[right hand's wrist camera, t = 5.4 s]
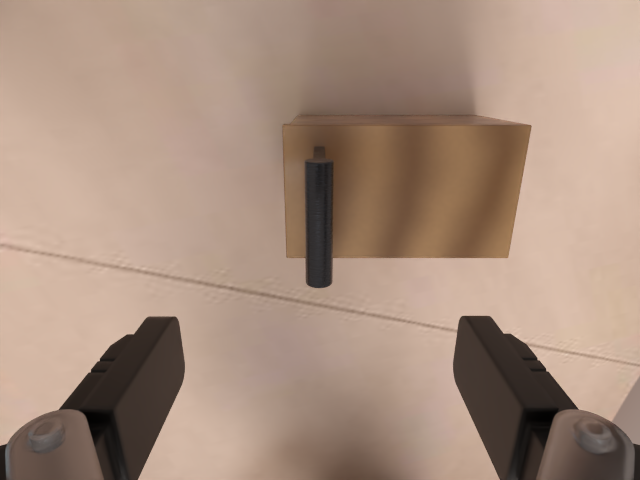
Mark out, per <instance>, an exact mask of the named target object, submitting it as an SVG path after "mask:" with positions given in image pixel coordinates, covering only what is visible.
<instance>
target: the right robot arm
mask: <svg viewBox="0 0 640 480" xmlns="http://www.w3.org/2000/svg"><path fill="white" fill-rule="evenodd" d="M184 372H185V361H184V354H183V347H182V340H181V333H180V326H179V321H178V319H177V318H176V317H147V318H146V319H145V320H144V322H143V323H142V324H141V326H140V327H139V328H138V330H137V331H136V332H135V334H134V335H126V336H124V337H123V338H121V339H120V340H118V341H117V342H115V343H114V344H112V345H111V346H110V347H109V348H108V350H107V351H106V352H105V353H104V355H103V356H102V357H101V358H100V361H98V362H97V363H96V364H95V366H94V367H93V368H92V369H91V373H88V374H87V375H86V377H85V378H84V379H83V380H82V382H81V383H80V384H79V385H78V387H77V388H76V389H75V390H74V392H73V393H72V394H71V395H70V396H69V398H68V399H67V400H66V401H65V403H64V404H63V405H62V406H61V408H60V409H59V410H57V411H53V412H49V413H46V414H44V415H41V416H39V417H37V418H35V419H33V420H31V421H30V422H28V423H27V424H25V425H24V426H23V427H21V428H20V429H19V430H18V431H17V432H16V433H15V434H14V435H13V436H12V437H11V438H10V440H9V442H8V443H7V444H5V445H2V446H0V480H138V478H139V476H140V474H141V472H142V469H143V467H144V465H145V463H146V461H147V459H148V456H149V454H150V452H151V450H152V448H153V446H154V444H155V441H156V439H157V437H158V435H159V433H160V431H161V429H162V426H163V424H164V422H165V420H166V418H167V416H168V413H169V411H170V409H171V407H172V405H173V403H174V401H175V398H176V396H177V394H178V392H179V390H180V388H181V385H182V382H183V379H184ZM453 372H454V378H455V382H456V385H457V387H458V389H459V391H460V394H461V396H462V398H463V400H464V402H465V404H466V407H467V409H468V411H469V413H470V415H471V417H472V420H473V422H474V424H475V426H476V428H477V431H478V433H479V435H480V437H481V439H482V441H483V444H484V446H485V448H486V450H487V452H488V454H489V457H490V459H491V461H492V463H493V465H494V468H495V470H496V472H497V474H498V476H499V478H500V480H640V445H637V444H633V443H632V442H631V440H630V439H629V437H628V436H627V435H626V434H625V433H624V432H623V431H622V430H621V429H620V428H619V427H617V426H616V425H615V424H613V423H612V422H610V421H609V420H607V419H605V418H603V417H601V416H599V415H596V414H594V413H591V412H587V411H583V410H579V409H578V408H577V407H576V405H575V404H574V403H573V402H572V400H571V399H570V398H569V397H568V396H567V394H566V393H565V392H564V391H563V389H562V388H561V387H560V386H559V384H558V383H557V382H556V381H555V379H554V378H553V377H552V376H551V374H550V373H549V372H546V368H545V367H544V366H543V364H542V363H541V362H540V361H538V360H537V357H536V356H535V354H534V353H533V352H532V351H531V349H530V348H529V347H528V346H527V345H526V344H525V343H523V342H522V341H520V340H519V339H517V338H516V337H514V336H513V335H512V334H503V332H502V331H501V330H500V328H499V327H498V326H497V324H496V323H495V322H494V320H493V319H492V318H491V317H490V316H462V317H461V318H460V320H459V325H458V332H457V339H456V346H455V353H454V360H453Z"/></svg>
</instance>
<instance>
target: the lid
mask: <svg viewBox="0 0 640 480" xmlns="http://www.w3.org/2000/svg"><path fill="white" fill-rule="evenodd" d="M282 128H283V160H284V191H285V223H286V255H287V258H306V283H307V285H309V286H310V287H314V288H324V287H328V286H330V285H331V284H332V269H333V258H508V255H509V249H510V244H511V238H512V232H513V227H514V221H515V215H516V210H517V204H518V199H519V193H520V187H521V182H522V176H523V171H524V165H525V159H526V154H527V148H528V143H529V137H530V131H531V125H527V124H284V125H283V126H282Z"/></svg>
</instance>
